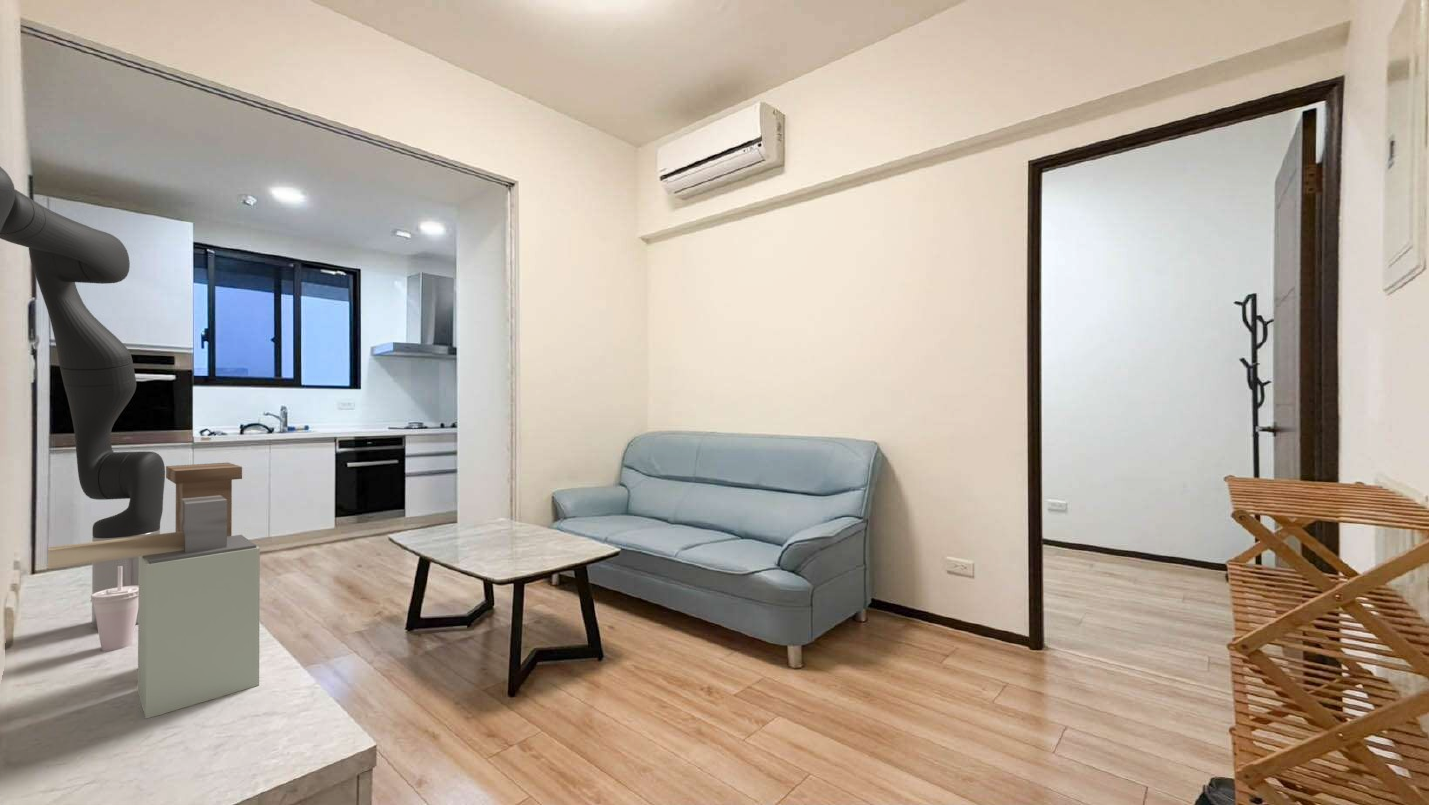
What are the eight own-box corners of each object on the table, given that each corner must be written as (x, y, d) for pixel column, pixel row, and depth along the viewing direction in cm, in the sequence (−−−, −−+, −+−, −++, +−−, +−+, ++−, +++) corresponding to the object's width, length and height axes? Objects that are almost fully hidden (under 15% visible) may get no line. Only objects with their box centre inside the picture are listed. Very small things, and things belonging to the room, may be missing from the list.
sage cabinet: (137, 690, 83) (138, 548, 83) (242, 662, 92) (243, 534, 92) (145, 719, 75) (146, 562, 75) (259, 685, 84) (259, 545, 84)
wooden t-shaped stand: (164, 656, 94) (166, 466, 95) (227, 640, 100) (228, 462, 101) (174, 678, 86) (175, 471, 87) (241, 660, 93) (242, 466, 93)
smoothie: (107, 655, 95) (108, 572, 95) (79, 652, 96) (80, 570, 96) (152, 640, 101) (153, 562, 101) (125, 637, 102) (126, 560, 102)
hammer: (50, 562, 75) (51, 510, 75) (220, 539, 88) (220, 495, 88) (46, 572, 71) (47, 516, 71) (226, 547, 83) (227, 500, 83)
